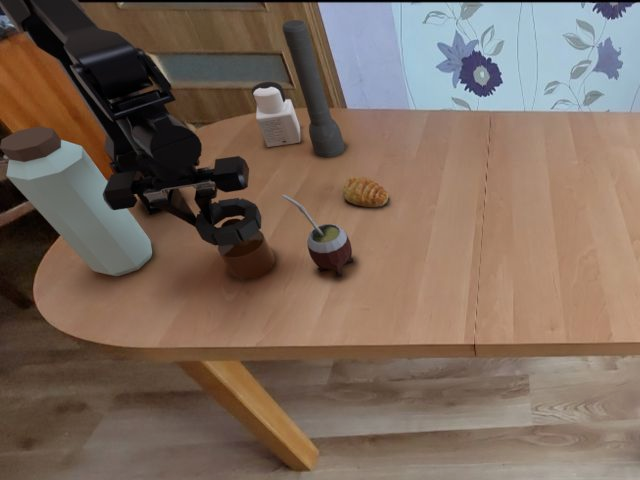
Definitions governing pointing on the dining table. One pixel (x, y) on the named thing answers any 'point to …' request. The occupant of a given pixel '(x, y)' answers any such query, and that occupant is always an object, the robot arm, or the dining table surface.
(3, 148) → the water bottle
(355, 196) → the pastry
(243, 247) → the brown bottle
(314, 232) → the mate gourd
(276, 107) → the container
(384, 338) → the dining table surface
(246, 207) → the black octagonal ring
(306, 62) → the flashlight
